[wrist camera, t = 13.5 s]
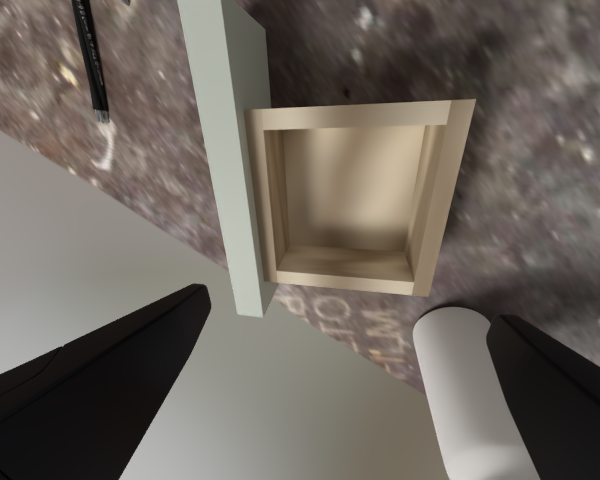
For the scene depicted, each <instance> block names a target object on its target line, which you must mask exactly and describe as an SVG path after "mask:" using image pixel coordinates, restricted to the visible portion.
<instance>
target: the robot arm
mask: <svg viewBox="0 0 600 480" xmlns="http://www.w3.org/2000/svg"><path fill="white" fill-rule="evenodd" d="M210 310H211V301H210V297H209V293H208V289H207V287H206V285H204V284H191V285H189V286H187V287H185V288H183V289H181V290H179V291H177V292H174V293H172V294H170V295H168V296H166V297H164V298H162V299H160V300H158V301H155V302H153V303H151V304H149V305H147V306H145V307H143V308H141V309H139V310H136V311H134V312H132V313H130V314H128V315H126V316H124V317H122V318H120V319H117V320H116V321H113V322H111V323H109V324H107V325H105V326H103V327H101V328H99V329H96V330H94V331H92V332H90V333H88V334H86V335H84V336H82V337H79V338H77V339H75V340H73V341H71V342H69V343H67V344H65V345H64V346H63V347H62V346H61V347H58V348H56V349H54V350H52V351H50V352H48V353H46V354H44V355H41V356H39V357H37V358H35V359H33V360H31V361H28V362H26V363H24V364H22V365H20V366H18V367H16V368H13V369H11V370H9V371H6V372H4V373H2V374H0V480H119V478H120V476H121V475H122V473H123V471H124V469H125V468H126V466H127V464H128V463H129V461H130V459H131V457H132V456H133V454H134V452H135V450H136V449H137V447H138V445H139V443H140V442H141V440H142V438H143V436H144V435H145V433H146V431H147V429H148V428H149V426H150V424H151V423H152V421H153V419H154V417H155V416H156V414H157V412H158V410H159V408H160V407H161V405H162V403H163V402H164V400H165V398H166V396H167V395H168V393H169V391H170V389H171V388H172V386H173V384H174V382H175V381H176V379H177V377H178V375H179V374H180V372H181V370H182V369H183V367H184V365H185V363H186V361H187V360H188V358H189V356H190V354H191V352H192V350H193V348H194V346H195V344H196V342H197V339H198V337H199V335H200V333H201V330H202V328H203V326H204V324H205V321H206V320H207V317H208V315H209V313H210ZM486 344H487V347H488V350H489V353H490V356H491V359H492V362H493V365H494V368H495V371H496V374H497V377H498V380H499V383H500V386H501V389H502V392H503V395H504V398H505V401H506V403H507V406H508V408H509V411H510V413H511V415H512V418H513V420H514V422H515V424H516V426H517V429H518V431H519V433H520V435H521V438H522V440H523V442H524V444H525V447H526V449H527V451H528V453H529V456H530V458H531V460H532V462H533V465H534V467H535V469H536V471H537V473H538V476H539V478H540V480H600V367H599V366H598V365H596V364H594V363H593V362H591V361H589V360H588V359H586V358H585V357H583V356H581V355H580V354H578V353H577V352H575V351H573V350H572V349H570V348H568V347H567V346H565V345H564V344H562V343H560V342H559V341H557V340H556V339H554V338H552V337H551V336H549V335H547V334H546V333H544V332H543V331H541V330H539V329H538V328H536V327H535V326H533V325H531V324H530V323H528V322H526V321H525V320H523V319H522V318H520V317H518V316H517V315H513V314H503V313H498V314H496V315H495V316H494V317H493V320H492V322H491V325H490V327H489V330H488V332H487V335H486Z"/></svg>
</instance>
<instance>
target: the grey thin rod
mask: <svg viewBox="0 0 600 480" xmlns="http://www.w3.org/2000/svg"><path fill="white" fill-rule="evenodd" d="M120 1H121V2H123V3H124V4H126V5H128V6H129V1H128V0H120Z"/></svg>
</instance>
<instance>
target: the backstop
mask: <svg viewBox="0 0 600 480" xmlns="http://www.w3.org/2000/svg"><path fill="white" fill-rule="evenodd" d="M177 1H178V6H179V12H180V17H181V22H182V27H183V32H184V38H185V43H186V48H187V53H188V58H189V64H190V69H191V74H192V79H193V84H194V90H195V95H196V100H197V105H198V110H199V116H200V121H201V126H202V131H203V136H204V142H205V147H206V152H207V157H208V162H209V168H210V173H211V178H212V183H213V188H214V194H215V199H216V204H217V209H218V214H219V220H220V225H221V230H222V235H223V240H224V246H225V251H226V256H227V261H228V266H229V272H230V277H231V282H232V287H233V292H234V298H235V302H236V308H237V313H238V314H239V315H247V316H255V317H264V314H265V312H266V310H267V308H268V306H269V304H270V302H271V299H272V297H273V295H274V293H275V291H276V288H277V286H278V284H279V283H276V282H265V281H264V276H263V267H262V259H261V251H260V243H259V235H258V226H257V218H256V210H255V202H254V193H253V185H252V177H251V169H250V160H249V152H248V144H247V136H246V127H245V119H244V111H243V110H254V109H271V96H270V83H269V70H268V57H267V44H266V31H265V29H264V28H263V27H262V26H261V25H260V24H259V23H258V22H257V21H256V20H254V19H253V18H252V17H251V16H250V15H249V14H248V13H247V12H246V11H245V10H244V9H243V8H241V7H240V6H239V5H238V4H237V3H236V2H235V1H234V0H177Z"/></svg>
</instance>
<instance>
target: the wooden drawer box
mask: <svg viewBox="0 0 600 480" xmlns="http://www.w3.org/2000/svg"><path fill="white" fill-rule="evenodd" d="M475 102H476V99H466V100H445V101H424V102H402V103H381V104H360V105H339V106H317V107H296V108H275V109H254V110H243V111H244V119H245V127H246V136H247V144H248V152H249V160H250V169H251V177H252V185H253V193H254V202H255V210H256V218H257V226H258V235H259V243H260V251H261V259H262V267H263V276H264V281H265V282H276V283H286V284H297V285H308V286H319V287H329V288H340V289H351V290H362V291H372V292H383V293H394V294H405V295H415V296H426V297H428V296H429V292H430V288H431V284H432V280H433V276H434V272H435V268H436V263H437V259H438V255H439V251H440V247H441V243H442V239H443V234H444V230H445V226H446V222H447V218H448V214H449V210H450V206H451V201H452V197H453V193H454V189H455V185H456V181H457V177H458V172H459V168H460V164H461V160H462V156H463V152H464V148H465V144H466V139H467V135H468V131H469V127H470V123H471V119H472V115H473V110H474V106H475Z"/></svg>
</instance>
